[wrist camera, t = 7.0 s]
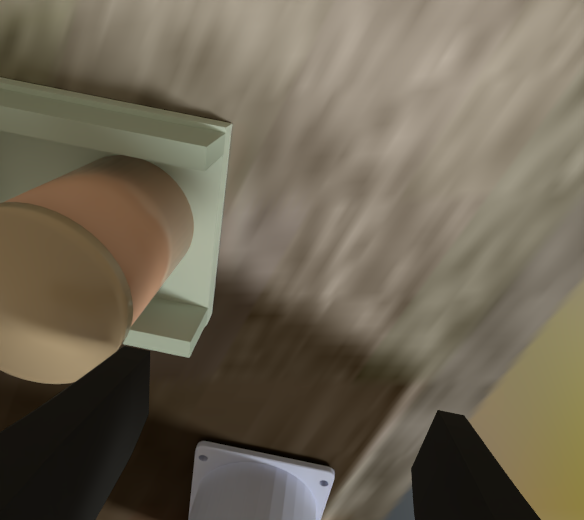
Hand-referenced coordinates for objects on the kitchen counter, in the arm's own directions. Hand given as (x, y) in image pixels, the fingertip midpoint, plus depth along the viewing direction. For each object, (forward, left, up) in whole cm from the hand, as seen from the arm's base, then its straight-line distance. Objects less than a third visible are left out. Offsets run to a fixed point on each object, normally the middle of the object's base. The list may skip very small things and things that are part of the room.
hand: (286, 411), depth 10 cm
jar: (0, +8, -8) cm, 11 cm away
